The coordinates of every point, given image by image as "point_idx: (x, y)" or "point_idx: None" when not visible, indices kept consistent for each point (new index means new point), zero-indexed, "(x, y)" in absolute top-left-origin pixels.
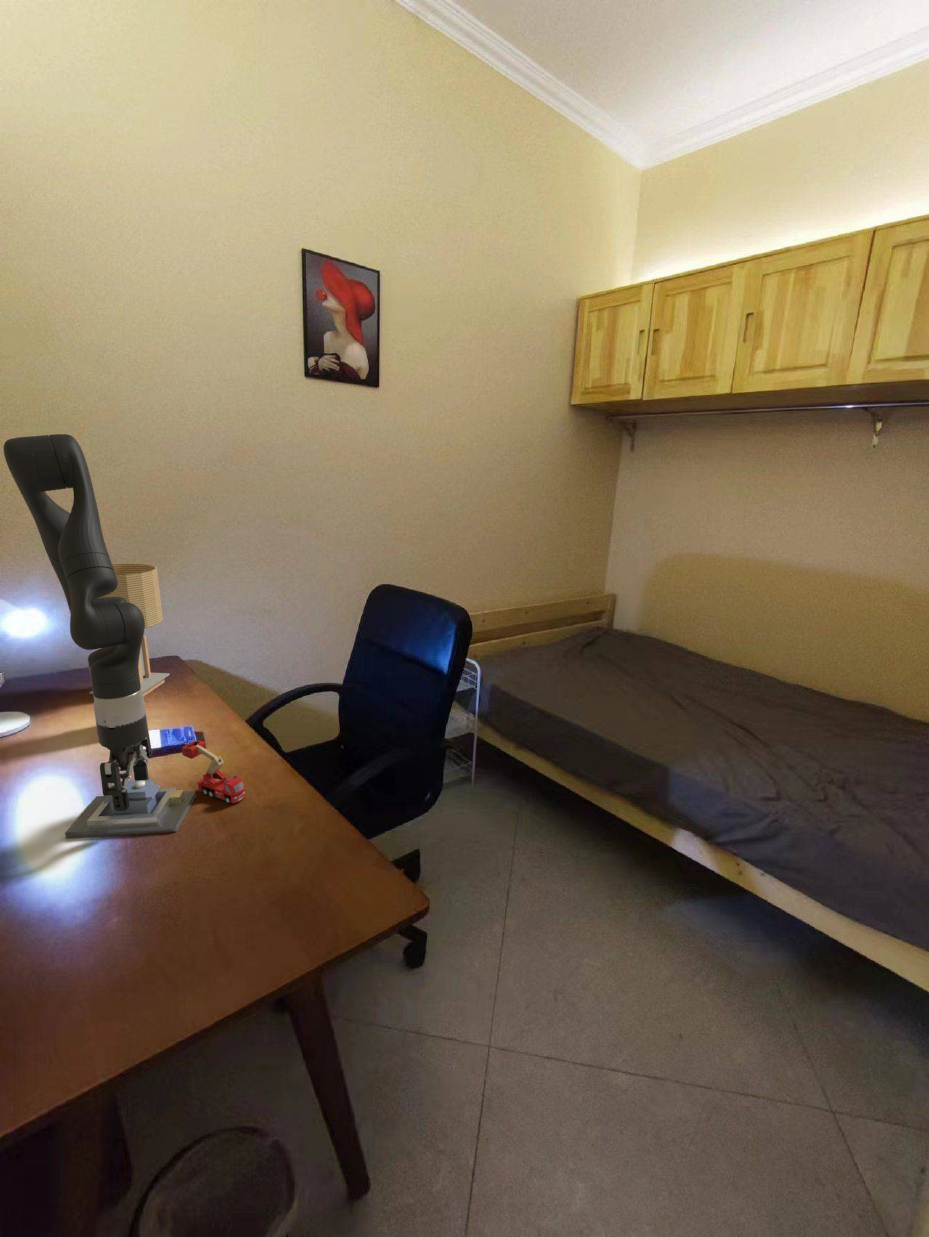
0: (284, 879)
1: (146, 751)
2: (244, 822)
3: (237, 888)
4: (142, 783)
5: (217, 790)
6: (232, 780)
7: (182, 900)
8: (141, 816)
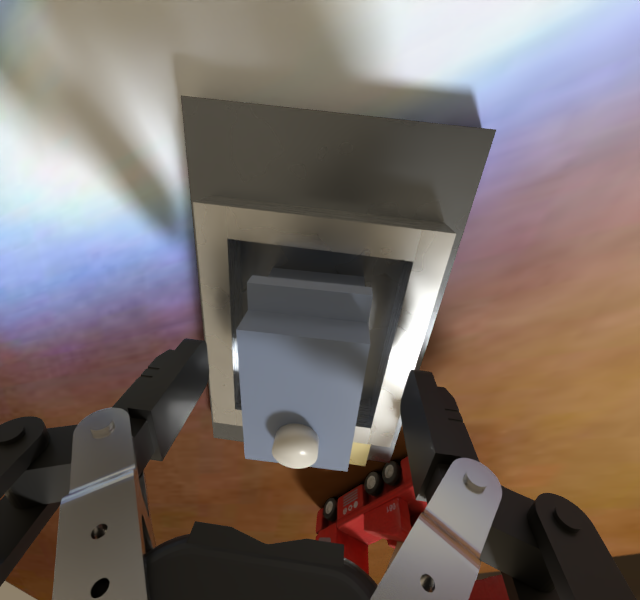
0: None
1: (516, 596)
2: (246, 517)
3: (59, 506)
4: (289, 461)
5: (353, 514)
6: None
7: None
8: (218, 385)
